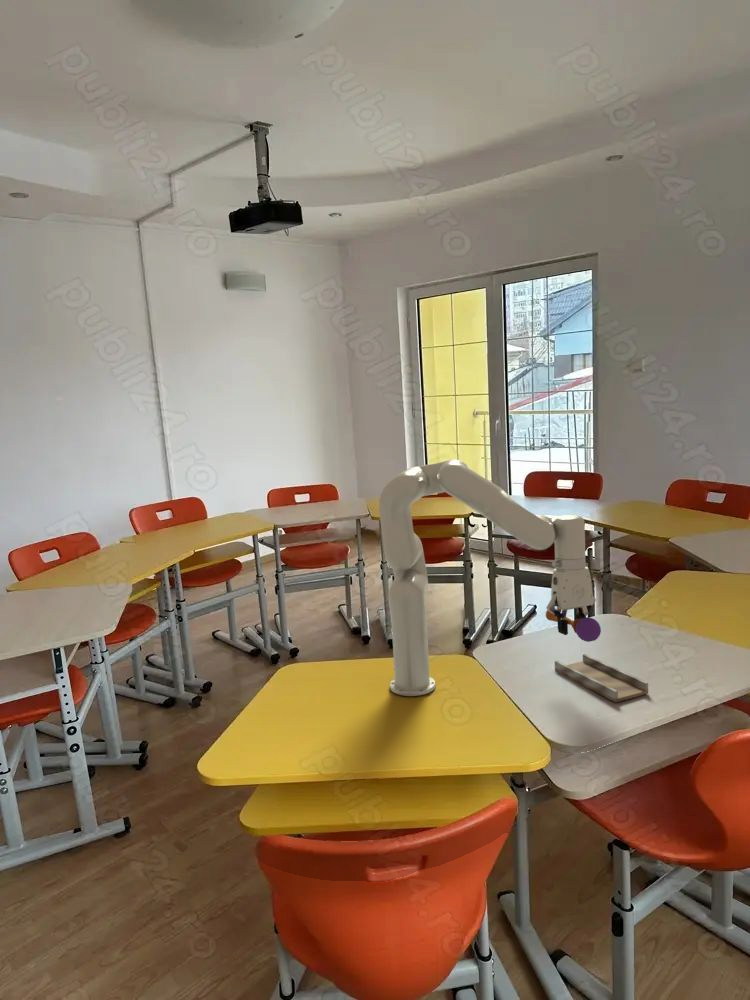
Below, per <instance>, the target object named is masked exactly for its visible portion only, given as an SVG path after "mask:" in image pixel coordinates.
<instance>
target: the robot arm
mask: <svg viewBox="0 0 750 1000" xmlns="http://www.w3.org/2000/svg"><path fill="white" fill-rule="evenodd" d="M443 493H446V494H448V495H449V496H451V497H452V498H454V499H455V500H457V501H459V502H461V503H462V504H464V505H466V506H467V507H469V508H470V509H472V510H474V511H475V512H477V513H478V514H480V515H482V516H483V517H485V519H487V520H488V521H490V522H491V523H492V524H494V525H496V526H497V527H498V528H500V529H502V531H505V532H506V533H507V534H509V535H510V536H512V537H513V538H515V539H517V540H518V541H520V542H521V543H522V544H525V545H526V546H528V547H529V548H532V549H535V550H540V551H541V550H546V549H548V548H550V547H551V546H552V545H553V544H554V561H552V562H551V565H552V567H553V568H554V569H553V571H552V578H551V589H550V591H551V594H550V597H551V598H550V601H549V602H548V604H547V606H546V608H545V609H546V611H547V610H548V611H550V612H551V613H552V614H553V615H554V616H555V617H556V618H557V619H558V622H557V631H558V633H560V634H562V635H564V636H567V635H568V634H569V626H568V625H569V624H568V621H567V620H566V619H565V618H566V617H567V613H568V611H569V610H574V609H576V610H577V611H576V612H577V613H575V620H577V619H580V618H586V617H587V616H589V611H590V610H591V608H592V606H593V605H594V604H595V603H596V601H597V600H596V598H595V596H594V593H593V583H592V578H591V577H592V576H591V572H590V569H589V567H588V566H586V532H585V531H586V528H585V527H586V526H585V524H586V523H585V519H584V517H582V516H580V515H575V514H563V515H558V516H557V515H545V514H534V513H533V512H531V511H529V510H528V509H526V507H523V506H522V505H521V504H519V503H517V502H516V500H514V499H513V498H512V497H511V496H510V495H509V494H508V492H506V491H505V490H504V489H502V487H500V486H498V485H497V484H495V483H493V482H492V481H491V480H489V479H487V478H485V477H483V476H481V475H480V474H479V473H477V472H475V471H474V470H472V469H470V468H469V467H468V465H467V464H466V463H465V462H464V461H462V460H460V459H448V460H445V461H440V462H434V463H429V464H424V465H419V466H413V467H409V468H407V469H404V471H402V472H400V473H399V474H397V475H396V476H395V477H393V478H391V480H390V481H388V483H386V484H385V486H384V487H383V489H382V490H381V493H380V495H379V499H378V514H379V520H380V528H381V537H382V543H383V551H384V557H385V561H386V563H387V565H388V566H389V567H390V568H391V569H392V573H393V578H394V579H393V580H392V583H391V584H390V586H389V589H388V604H389V605H388V606H389V613H390V622H391V634H392V647H393V648H392V649H393V650H392V651H393V652H392V653H393V670H394V679H391V681H390V682H389V690H390V691H392V693H394V694H395V695H396V694H397V695H399V696H405V697H416V696H417V697H418V696H425V695H426V694H429V693H431V692H433V691H434V690H435V689H436V687H437V686H436V685H437V684H436V680H435V679H434V678H433V677H431V676H430V661H429V659H430V657H429V641H428V639H429V637H428V626H427V615H426V603H425V602H426V594H427V592H428V587H429V580H428V579H429V578H428V571H427V564H426V559H425V552H424V548H423V544H422V540H421V539H420V537H419V536H418V535H417V534H416V533H415V531H414V526H413V524H414V523H413V516H412V512H411V506H412V505H413V503H416V502H417V501H419V500H420V499H422V498H423V497H426V496H431V495H437V494H443Z"/></svg>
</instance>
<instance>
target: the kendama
mask: <svg viewBox="0 0 750 1000" xmlns="http://www.w3.org/2000/svg"><path fill="white" fill-rule="evenodd" d="M545 618H546V619H547V621H552V622H555V623H556V622H557V623H558V619H557V618H556V617H555V616H554V615H553V614H552V613H551V612H550V611H548V610H547V609H546V612H545ZM565 619H566V620H567V621H568V625H569V626H571V628H572V629H573V631H574V633H575V634H576V635H577V637H578V638H579V639H580V640H581V641H584V642H588V643H589V642H590V643H591V642H595V641H596V640H598V638H599V637H600V636H601V633H602V630H601V625H600V623H599V622H598V621H597V620H596V619H594V618H592V617H589V616H588V617H587V616H586V618H580V619H577V620H576V619H574V620H572V619H570V618H569V617H567V616H566V618H565Z"/></svg>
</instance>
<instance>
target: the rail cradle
mask: <svg viewBox="0 0 750 1000" xmlns="http://www.w3.org/2000/svg"><path fill="white" fill-rule="evenodd" d="M554 671H556V672H558V673H559V674H561V675H563V676H565V677H567V678H568V679H569V680H572V681H573V682H576V683H578V684H580V685H581V686H583V687H585V688H587V689H589V690H591V691H593V692H595V693H597V694H599V695H601V696H603V697H604V698H606V699H607V700H610V701H612V702H614V703H618V702H622V701H624V700H625V701H626V700H629V699H633V698H636V697H640V696H643V695H646V694H649V682H647V681H645V680H642V679H641V678H639V677H636V676H633V675H632V674H629V673H628V672H625V671H623V670H621V669H618V667H617V668H616V667H614V666H613V665H610V664H608V663H605V662H603V661H602V660H598V659H596V658H595V657H592V656H590V655H588V654H586V653H584V654H582V661H578V662H574V663H571V664H564V663H562V662H560V661H559V660H555V661H554Z"/></svg>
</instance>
